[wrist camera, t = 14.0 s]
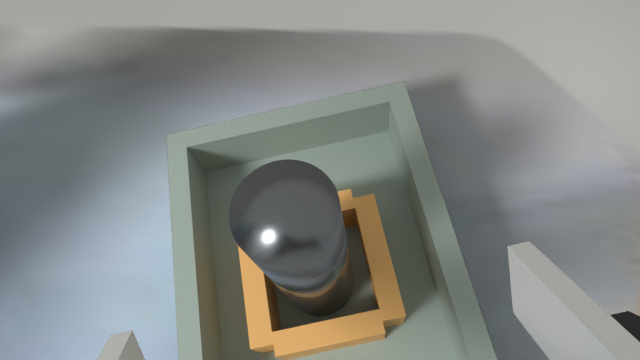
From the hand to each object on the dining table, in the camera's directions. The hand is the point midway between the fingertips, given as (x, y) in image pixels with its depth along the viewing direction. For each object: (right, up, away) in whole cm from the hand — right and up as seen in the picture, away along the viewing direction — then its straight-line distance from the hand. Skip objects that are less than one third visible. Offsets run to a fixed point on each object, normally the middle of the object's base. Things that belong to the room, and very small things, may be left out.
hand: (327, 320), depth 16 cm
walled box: (0, -1, +12) cm, 12 cm away
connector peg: (0, -1, +11) cm, 11 cm away
